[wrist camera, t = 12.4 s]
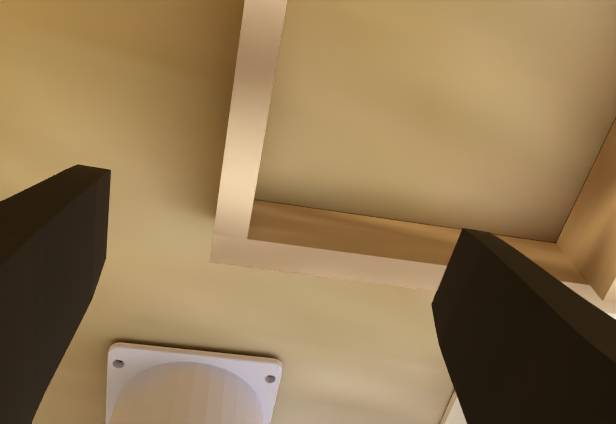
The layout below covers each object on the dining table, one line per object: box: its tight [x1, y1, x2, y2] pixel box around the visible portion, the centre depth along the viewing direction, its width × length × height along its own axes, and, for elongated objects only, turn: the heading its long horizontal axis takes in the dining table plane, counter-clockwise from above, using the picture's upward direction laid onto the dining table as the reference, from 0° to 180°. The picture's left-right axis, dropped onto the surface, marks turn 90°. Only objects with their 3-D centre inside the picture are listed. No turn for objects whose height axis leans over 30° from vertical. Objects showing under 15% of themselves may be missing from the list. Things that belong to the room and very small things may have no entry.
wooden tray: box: [210, 0, 616, 314], centre depth 20 cm, size 14×22×4 cm, turn 79°
